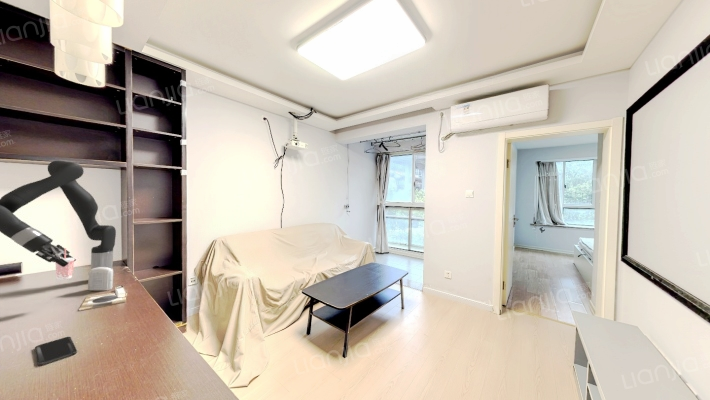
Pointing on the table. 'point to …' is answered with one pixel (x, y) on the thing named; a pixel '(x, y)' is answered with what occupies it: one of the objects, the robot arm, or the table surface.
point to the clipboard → (102, 301)
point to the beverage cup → (65, 269)
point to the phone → (55, 351)
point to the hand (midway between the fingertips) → (70, 263)
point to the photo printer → (100, 278)
